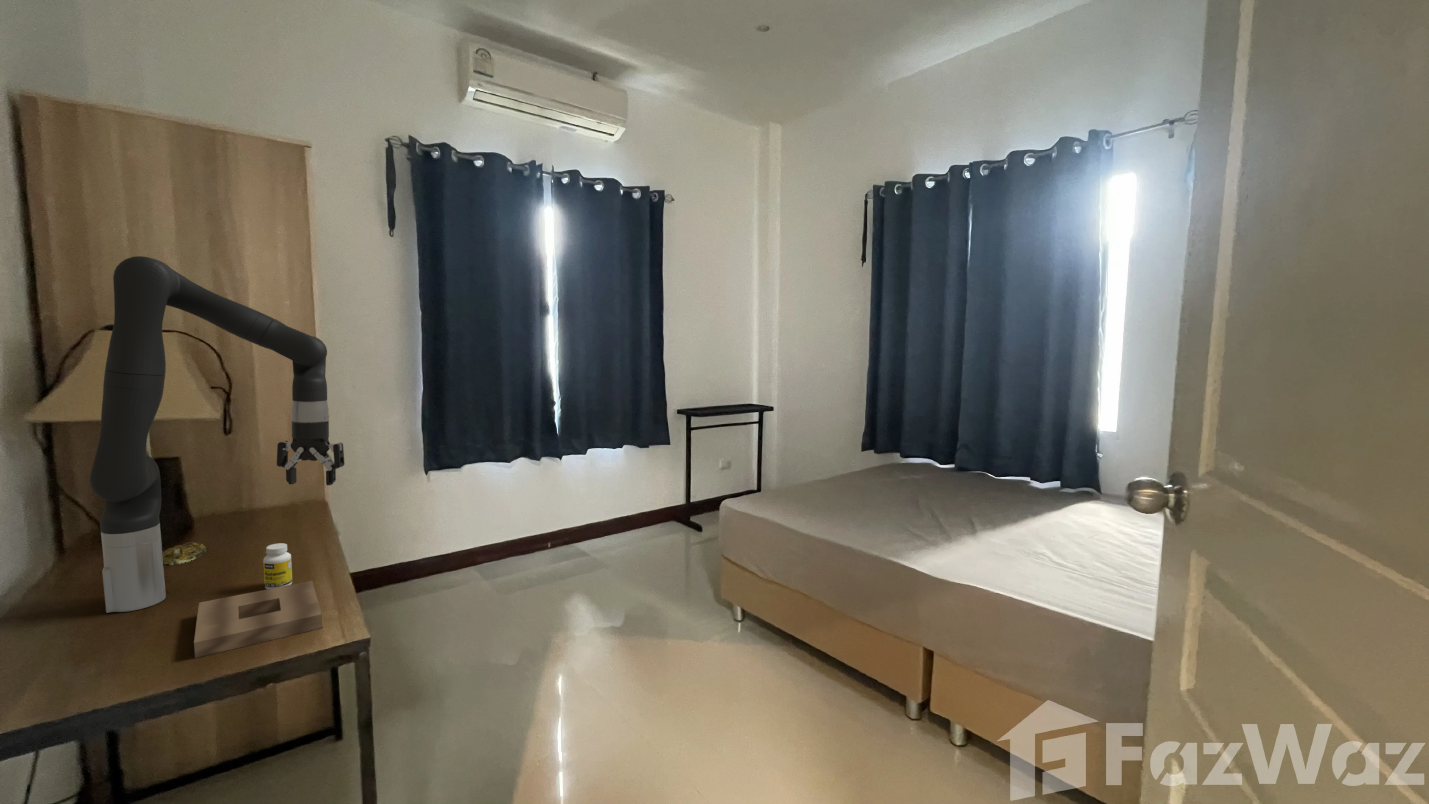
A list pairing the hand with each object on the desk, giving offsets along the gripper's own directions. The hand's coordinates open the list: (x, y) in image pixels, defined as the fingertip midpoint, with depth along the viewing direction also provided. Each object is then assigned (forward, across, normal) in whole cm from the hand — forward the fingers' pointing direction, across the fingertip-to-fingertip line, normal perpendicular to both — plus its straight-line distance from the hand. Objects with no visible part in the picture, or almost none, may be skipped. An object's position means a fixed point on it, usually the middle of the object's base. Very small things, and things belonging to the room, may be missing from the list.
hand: (311, 484), depth 149 cm
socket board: (+23, +2, -25) cm, 34 cm away
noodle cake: (+24, -39, +14) cm, 48 cm away
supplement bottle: (+23, -4, -7) cm, 25 cm away
